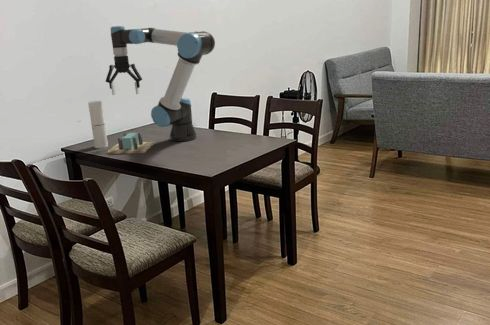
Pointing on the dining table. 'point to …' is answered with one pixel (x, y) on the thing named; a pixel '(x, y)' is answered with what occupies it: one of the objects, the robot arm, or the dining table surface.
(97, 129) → the cylindrical container
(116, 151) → the wooden peg board
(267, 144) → the dining table surface
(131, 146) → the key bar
